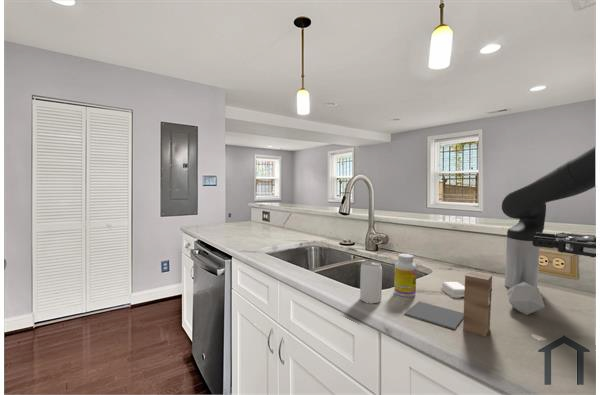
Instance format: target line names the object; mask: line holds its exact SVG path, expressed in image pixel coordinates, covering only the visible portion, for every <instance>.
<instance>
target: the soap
mask: <svg viewBox="0 0 600 395" xmlns="http://www.w3.org/2000/svg"><path fill="white" fill-rule="evenodd" d="M440 289H441V291H443V292H444V293H445V294H447V295H449V297H451V298H453V299H454V298H456V299H461V298H464V292H465V285H463V284H462V283H460V282H458V281H443V282H442V283H441V286H440Z"/></svg>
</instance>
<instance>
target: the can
mask: <svg viewBox="0 0 600 395" xmlns="http://www.w3.org/2000/svg"><path fill="white" fill-rule="evenodd" d="M359 279H360V284H359V292H360V293H359V298H360V300H361V301H362V302H363V301H364V302H363V303H365V302H368V303H367V304H369V303H377V304H379V303H380V302H381V301H382V290H383V289H382V288H383V286H382V283H383V267H382V265H381V262H380V261H379V260H376V259H375V260H374V259H364V260H362V261H361V265H360V276H359ZM378 302H379V303H378Z"/></svg>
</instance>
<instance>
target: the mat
mask: <svg viewBox="0 0 600 395" xmlns="http://www.w3.org/2000/svg"><path fill="white" fill-rule="evenodd" d="M403 315H404V316H407V317H411V318H415V319H417V320H421V321H425V322H427V323H430V324H434V325H437V326H440V327H444V328H447V329H450V330H454V331H455V330H456V329H457V328H458V327H459V325H460V324H461V323H462V321H463V317H464V312H460V311H457V310H453V309H451V308H450V309H449V308H446V307H442V306H438V305H434V304H431V303H427V302H423V301H420V300H419V301H417V302H416V303H415V304H413V305H412V307H410V308H409V309H407V311H405V312H404V314H403Z"/></svg>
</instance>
